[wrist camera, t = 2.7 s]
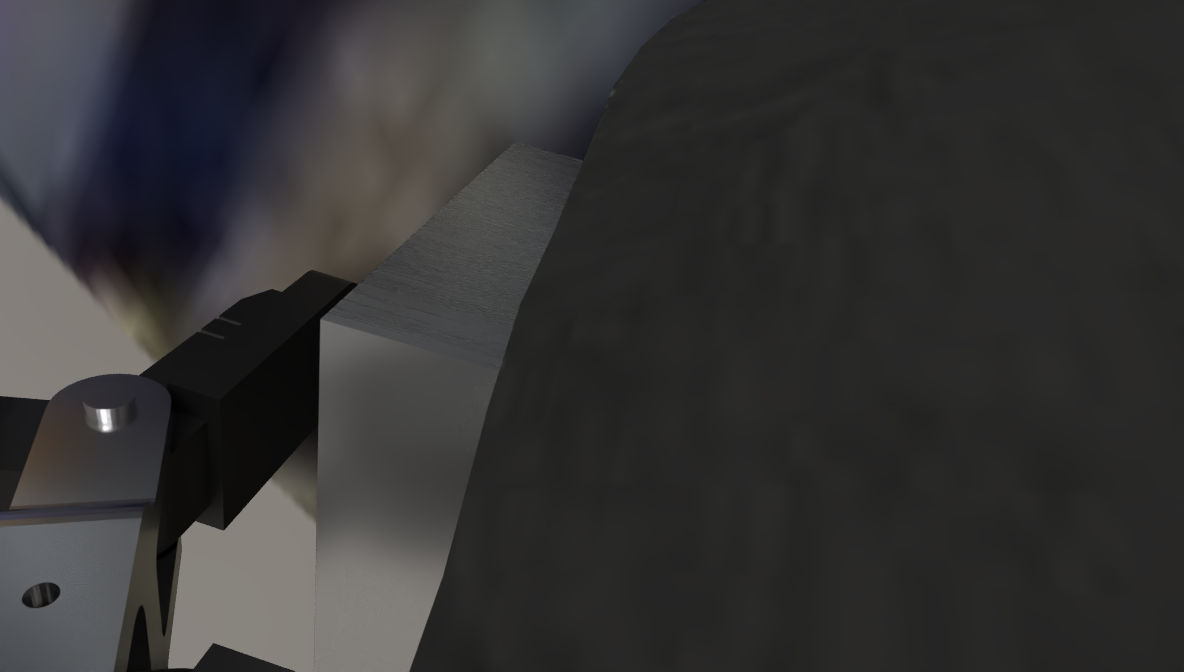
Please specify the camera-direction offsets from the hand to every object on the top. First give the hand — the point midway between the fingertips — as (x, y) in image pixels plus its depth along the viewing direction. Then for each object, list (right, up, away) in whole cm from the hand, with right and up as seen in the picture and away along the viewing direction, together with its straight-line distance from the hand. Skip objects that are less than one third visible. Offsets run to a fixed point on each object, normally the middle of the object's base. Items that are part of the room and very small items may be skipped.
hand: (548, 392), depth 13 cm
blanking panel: (0, +1, +1) cm, 1 cm away
